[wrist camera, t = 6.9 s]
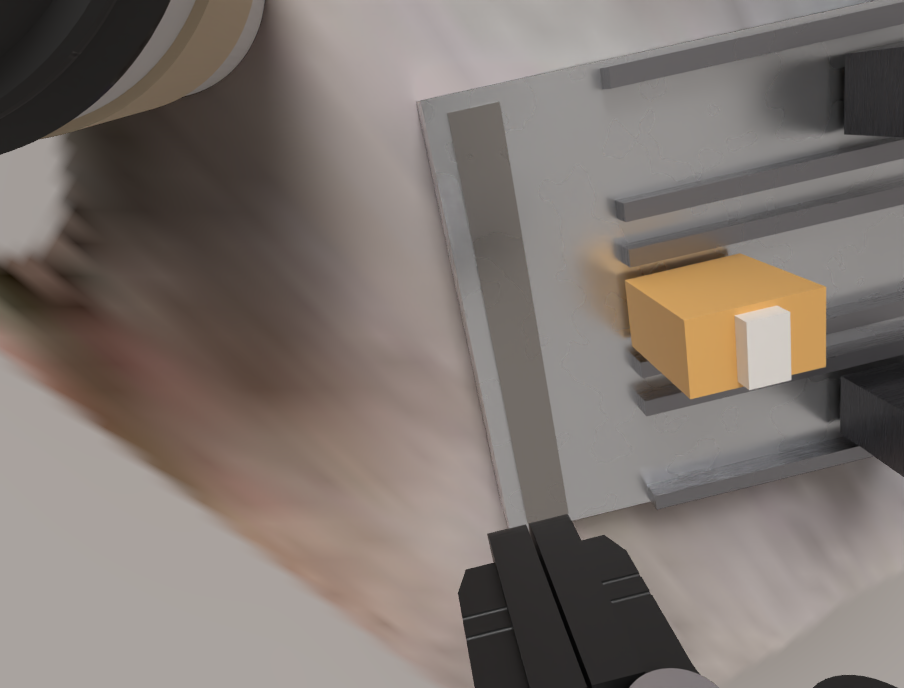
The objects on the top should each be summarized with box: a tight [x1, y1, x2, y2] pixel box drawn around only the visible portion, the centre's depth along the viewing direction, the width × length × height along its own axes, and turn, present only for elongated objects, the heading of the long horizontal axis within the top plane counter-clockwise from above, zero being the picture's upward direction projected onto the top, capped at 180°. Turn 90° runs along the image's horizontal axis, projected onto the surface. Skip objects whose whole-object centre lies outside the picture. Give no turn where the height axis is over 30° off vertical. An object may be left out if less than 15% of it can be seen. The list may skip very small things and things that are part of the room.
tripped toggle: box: [625, 253, 826, 399], centre depth 20 cm, size 2×4×5 cm, turn 102°
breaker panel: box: [417, 0, 904, 530], centre depth 21 cm, size 16×22×7 cm
